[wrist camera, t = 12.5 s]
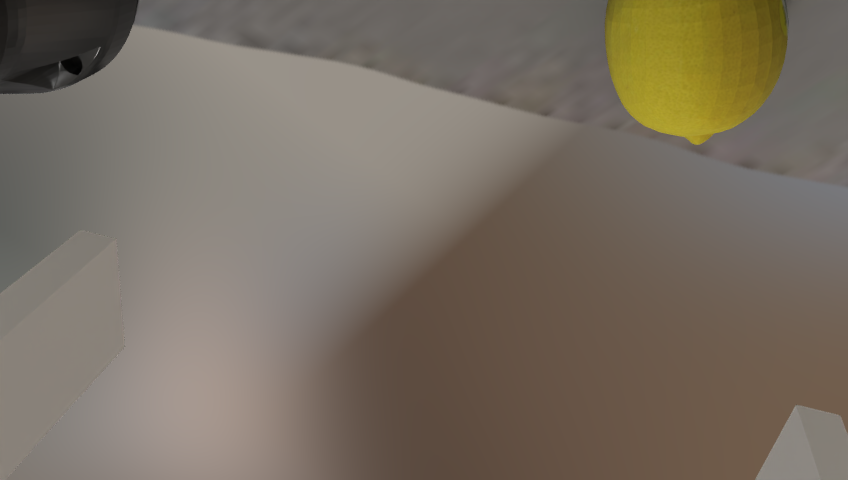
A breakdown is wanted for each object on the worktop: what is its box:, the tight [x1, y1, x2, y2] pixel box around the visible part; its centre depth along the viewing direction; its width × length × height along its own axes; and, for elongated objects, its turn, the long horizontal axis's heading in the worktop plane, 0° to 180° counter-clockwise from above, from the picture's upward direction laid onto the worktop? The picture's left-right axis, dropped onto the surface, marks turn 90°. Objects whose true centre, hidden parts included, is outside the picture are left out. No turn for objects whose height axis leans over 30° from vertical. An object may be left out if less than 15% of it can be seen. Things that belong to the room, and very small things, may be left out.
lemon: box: [605, 0, 789, 145], centre depth 34 cm, size 11×8×8 cm
